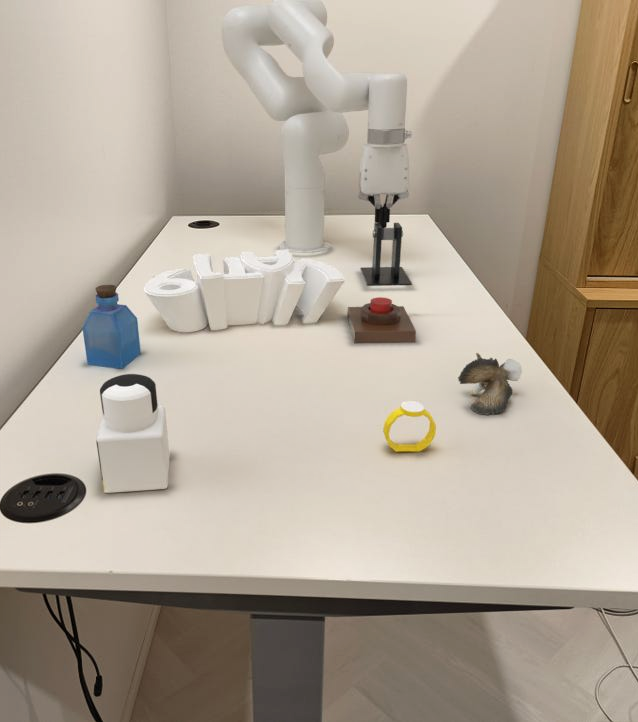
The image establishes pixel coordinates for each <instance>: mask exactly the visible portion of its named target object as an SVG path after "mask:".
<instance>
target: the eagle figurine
mask: <svg viewBox="0 0 638 722" xmlns="http://www.w3.org/2000/svg"><path fill="white" fill-rule="evenodd" d="M475 356H476V359H474V360H472V361H471V362H469V363H467V364H466V365H465V367H463V369H462V371H461V372H460V374H459V376H458V377H457V380H458V382H459V384H460V385H468V384H471V385H472V384H473V385H475V384H476V385H475V387H473V388H472V391H471V393H470V395H471V396H473V395H477V394H479V393H481V392H482V391H483V392H482V393H481V394H480V396H479V397H477V399H476V400H475V401H474V402H472V403H471V405H470V406H469V407H470V408H471V409H472V411H473V412H475V414H476V415H477V414H478V415H487V416H488V415H490V414H492V415H495V414H498V413H500V412H502V411H504V410H505V408H506V407H507V405H508V403H509V400H510V398H511V397H513V389H512V386H511V385H510V383H509V381H511V382H518V381H519V380H520V378H521V376H522V373H523V370H522V365H521V364H520V363H519V362H518V361H516V360H515V359H513V358H508V359H506V361H505V362H503V363H501V365H500V364H499V361H498V359H497V358H493V357H489V358H483V357H482V356H481V354H480V353H479V352H476V353H475Z"/></svg>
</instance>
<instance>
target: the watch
mask: <svg viewBox="0 0 638 722" xmlns="http://www.w3.org/2000/svg"><path fill="white" fill-rule="evenodd" d="M403 416H407V417H410V418H418V417H419V418H420V417H421V416H424V417H425V418H427V419H428V421H429V427H428V428H429V429H428V432H427V433H426V435H425V436H424V437H423V439H421V440H419V441H418V442H416V443H412V444H411V443H410V444H408V443H395V442H394V441H393V440H392V439H390V431H391V427H392V425H393V424H395V422H396V420H398V419H399V418H400V417H403ZM436 429H437V426H436V423H435V421H434V419H433V416H431V413H430V412H429V411H428V410H427V409H426V408H425V406H424V405H423V404H422V403H420V402H418V401H414V400H407V401H403V402H402V403H400V407H398V408H396V409H395V410H393V411H392V412H391V413H390V414H389V415H388V417H386V419H385V420H384V424H383V429H382V430H383V431H382V432H383V434H384V435H383V436H384V438H385V441H386V443H387V445H388V446H389V447H390V448H391V449H392V450H394V452H396V453H398V452H418V453H419V452H420V453H421V451H423V450H424V449H425V450H426V448H428V447H429V446H430V444H431V443H432V442H433V440H434V438H435V436H436V432H437V431H436Z"/></svg>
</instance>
